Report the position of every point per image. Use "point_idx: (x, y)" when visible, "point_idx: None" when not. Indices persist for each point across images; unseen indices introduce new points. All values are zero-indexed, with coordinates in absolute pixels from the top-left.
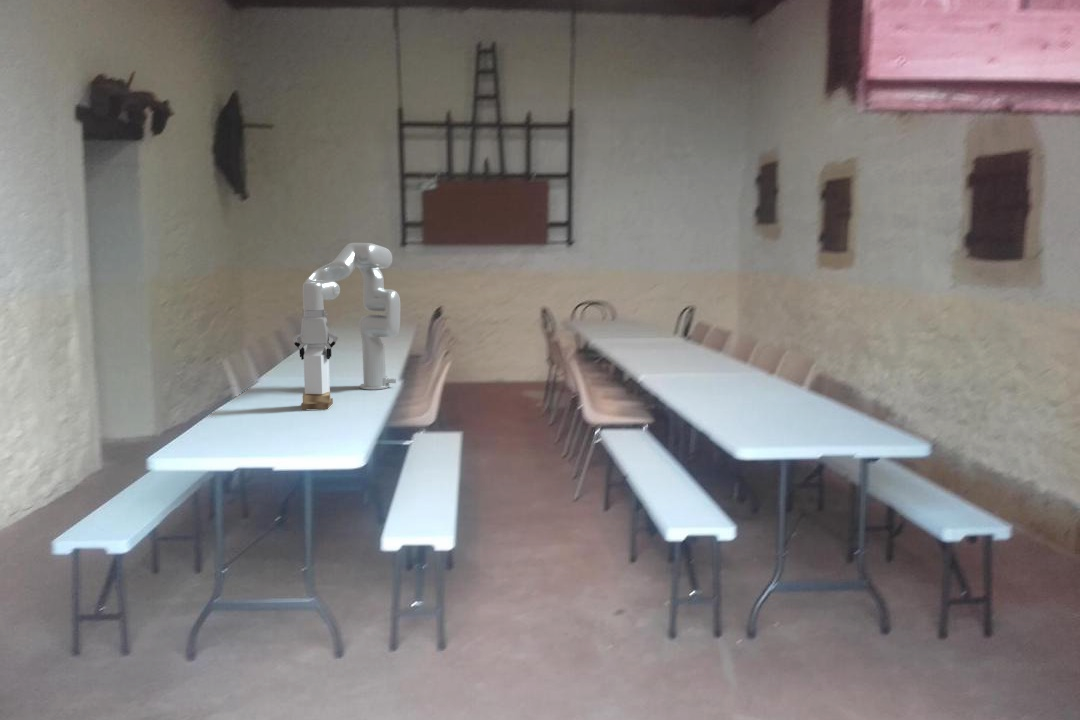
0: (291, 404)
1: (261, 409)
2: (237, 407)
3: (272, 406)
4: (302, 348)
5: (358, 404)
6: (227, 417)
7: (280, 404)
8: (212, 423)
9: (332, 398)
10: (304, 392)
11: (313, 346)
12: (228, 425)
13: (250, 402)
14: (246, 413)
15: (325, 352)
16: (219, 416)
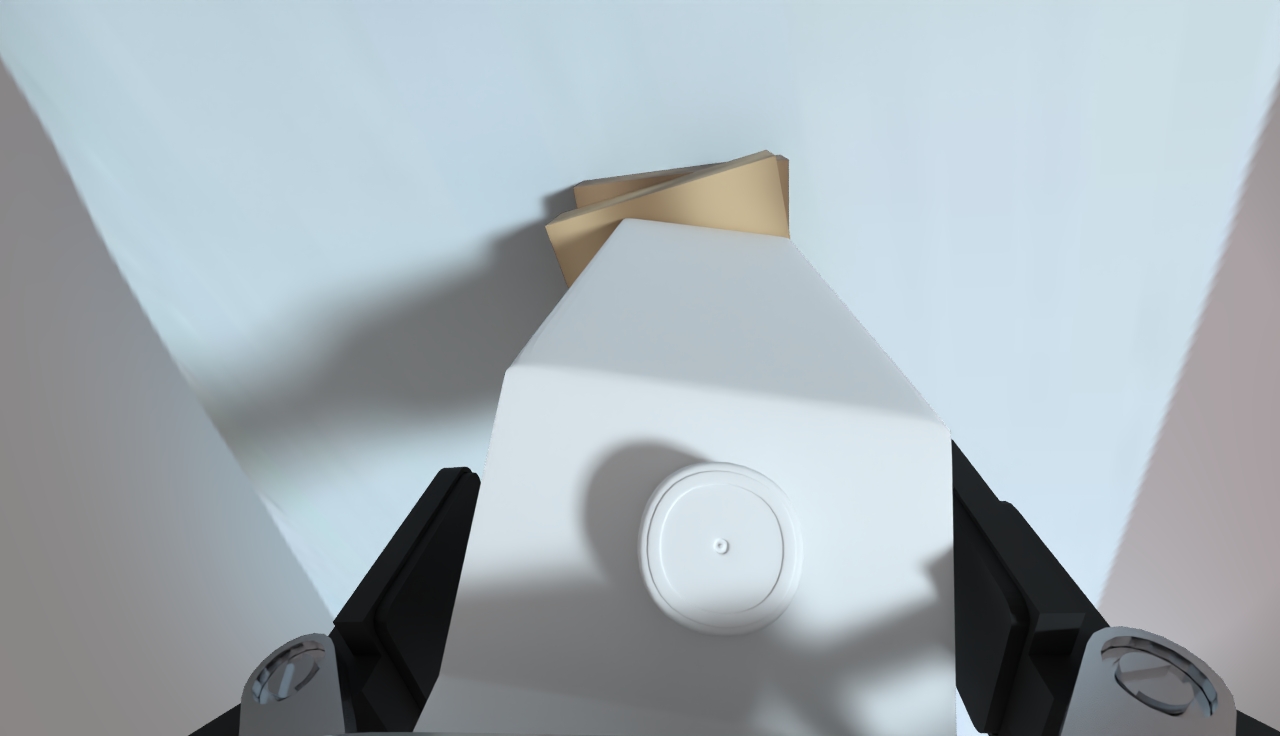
0: (464, 176)
1: (366, 341)
2: (192, 292)
3: (376, 252)
4: (408, 730)
5: (1001, 139)
6: (328, 507)
7: (388, 181)
8: (348, 593)
9: (788, 168)
10: (568, 268)
11: (618, 727)
12: None
13: (138, 120)
14: (355, 434)
15: (884, 488)
16: (278, 490)
